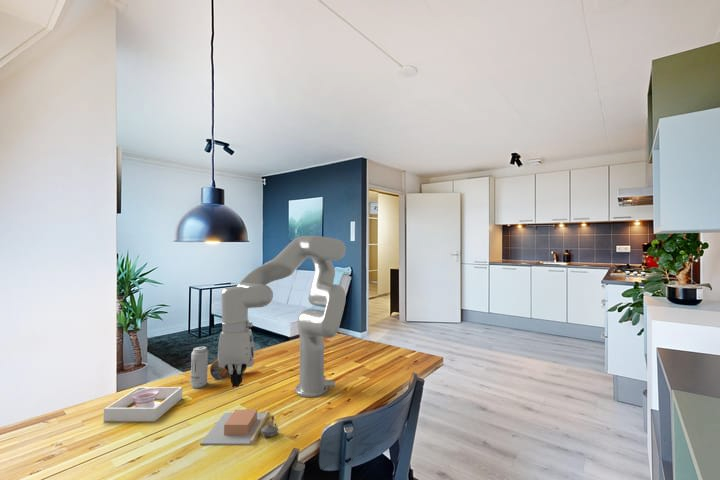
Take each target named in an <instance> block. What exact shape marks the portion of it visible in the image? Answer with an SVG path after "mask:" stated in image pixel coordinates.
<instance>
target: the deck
mask: <svg viewBox="0 0 720 480" xmlns="http://www.w3.org/2000/svg"><path fill="white" fill-rule="evenodd" d="M232 413H233V414H232V415H231V416H230V418H229V419H228V420H227V422H226V423H225V424H224V435H248V434H249V432H250V430H251V429H252V427H253V425H254V424H255V422H256V420H257V413H258V409H235V410H234V411H233V412H232Z"/></svg>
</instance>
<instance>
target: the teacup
mask: <svg viewBox="0 0 720 480" xmlns="http://www.w3.org/2000/svg"><path fill="white" fill-rule="evenodd" d="M158 393H159V390H158V389H156V388H146V389H142V390H138V391H136V392H134V393H133V394H132V399H133V400H134V402H133V403H134V404H135V405H133V406H130V408H155V407H156V406H157V405H159V404H160V403H161V402H162V401H155V400H156V399H155V398H156V396H157V395H158Z"/></svg>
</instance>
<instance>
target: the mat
mask: <svg viewBox="0 0 720 480" xmlns="http://www.w3.org/2000/svg"><path fill="white" fill-rule="evenodd" d="M232 414H233V412H224V413H223V414H222V415H221V417H220V418H219V419H218V420H217V421H216V423H215V424H214V426H213V427H212V428H211V430H209V432H208V433H207V434H206V435H205V437H204V438H203V439H202V440H201V442H200V446H203V445H204V446H211V445H212V446H224V445H225V446H229V445H230V446H231V445H232V446H234V445H235V446H238V445H239V446H240V445H241V446H243V445H245V446H246V445H247V446H252V445H254V443H255V441H256V439H257V437H258V435H259V433H260V431H261V429H262V428H263V427H264V426H263V425H264V424H265V422H266V420H267V418H268V417H269V415H270V410H265V412H257V420H256V422H255V424H254V425H253V427H252V429H251V430H250V432H249V434H248V435H224V424H225V423H226V422H227V420H228V419H229V418H230V416H231V415H232Z"/></svg>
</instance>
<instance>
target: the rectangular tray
mask: <svg viewBox="0 0 720 480" xmlns="http://www.w3.org/2000/svg"><path fill="white" fill-rule="evenodd" d="M146 388H156V389H158V390H159V393H158V395H157V396H156V398H155V400H163V401H160V402H161V403H160V404H159V405H157V406H156V407H155V408H131V407H129V406H130V405H132V404H133V403H134V400H133V399H132V394H133V393H134V392H136V391H138V390H142V389H146ZM182 399H183V386H138V387H136V388H133V390H131V391H130V392H128V393H126V394H125V395H123V396H122V397H121V398H119V399H117V400H116V401H115V400H114V402H112V403H110V404H109V405H108V406H106V407H105V408H104V407H103V422H156V421H157V420H158V419H159V418H161V417H163V415H164V414H165V413H167V412H168V411H169V410H170V409H171V408H172V407H174V406H175V405H176V404H177V403H178V402H179V401H180V400H182Z"/></svg>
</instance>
